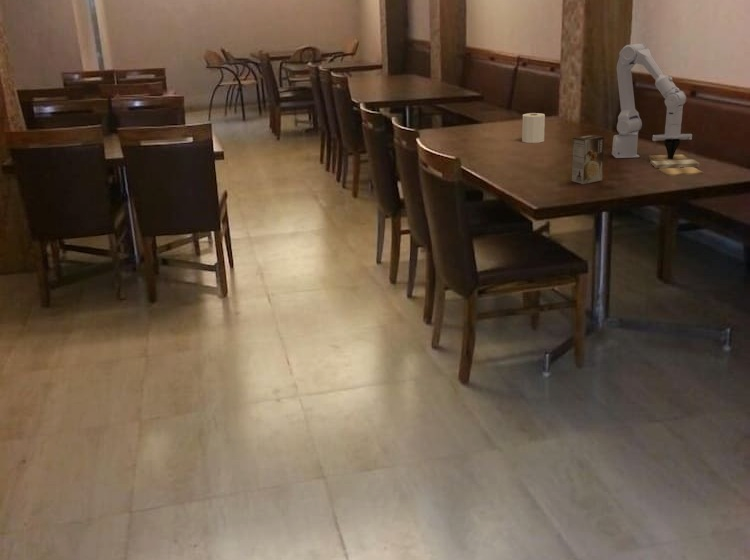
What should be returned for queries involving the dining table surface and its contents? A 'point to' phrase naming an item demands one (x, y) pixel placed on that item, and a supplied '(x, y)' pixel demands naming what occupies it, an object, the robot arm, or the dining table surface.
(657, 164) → the floor board
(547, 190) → the dining table surface
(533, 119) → the toilet paper
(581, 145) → the coffee box
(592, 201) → the dining table surface
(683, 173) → the plank
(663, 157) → the board
